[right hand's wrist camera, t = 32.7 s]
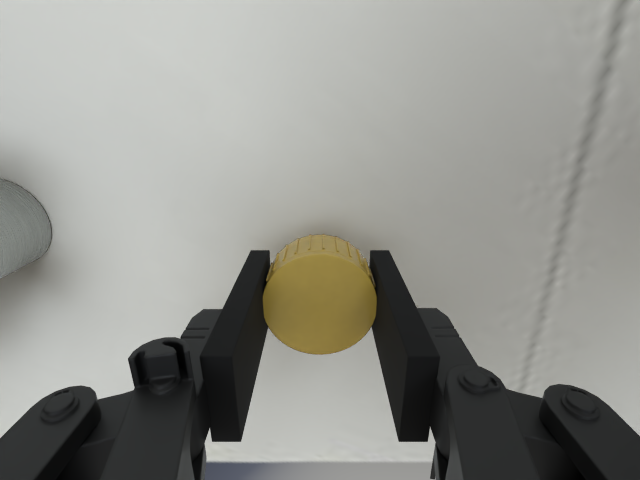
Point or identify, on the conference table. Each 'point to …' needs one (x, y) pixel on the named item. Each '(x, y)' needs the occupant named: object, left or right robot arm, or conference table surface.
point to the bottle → (21, 228)
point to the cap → (319, 295)
